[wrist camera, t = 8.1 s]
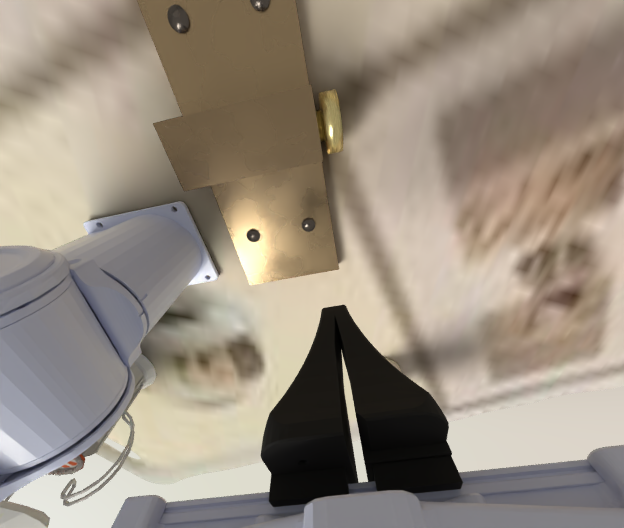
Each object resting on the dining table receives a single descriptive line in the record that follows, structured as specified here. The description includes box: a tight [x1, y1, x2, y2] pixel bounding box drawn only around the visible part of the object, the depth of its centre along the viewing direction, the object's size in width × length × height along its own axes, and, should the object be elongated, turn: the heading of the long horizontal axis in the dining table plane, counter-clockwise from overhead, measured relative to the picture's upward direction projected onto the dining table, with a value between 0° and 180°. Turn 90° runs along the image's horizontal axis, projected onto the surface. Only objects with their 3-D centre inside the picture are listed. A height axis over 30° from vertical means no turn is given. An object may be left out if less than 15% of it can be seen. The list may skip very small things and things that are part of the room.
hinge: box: [137, 0, 339, 285], centre depth 16 cm, size 10×24×4 cm, turn 11°
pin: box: [316, 89, 343, 154], centre depth 16 cm, size 10×4×4 cm, turn 101°
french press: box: [0, 354, 156, 528], centre depth 19 cm, size 10×12×25 cm
